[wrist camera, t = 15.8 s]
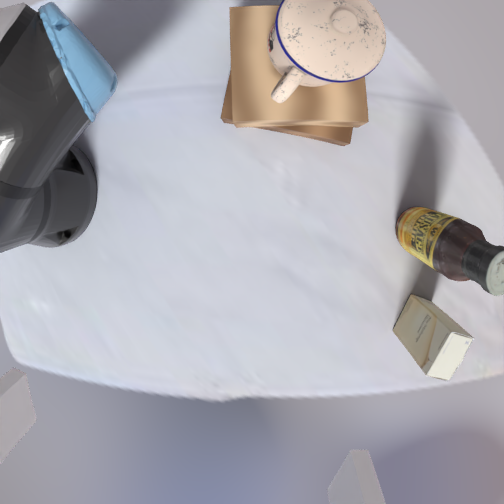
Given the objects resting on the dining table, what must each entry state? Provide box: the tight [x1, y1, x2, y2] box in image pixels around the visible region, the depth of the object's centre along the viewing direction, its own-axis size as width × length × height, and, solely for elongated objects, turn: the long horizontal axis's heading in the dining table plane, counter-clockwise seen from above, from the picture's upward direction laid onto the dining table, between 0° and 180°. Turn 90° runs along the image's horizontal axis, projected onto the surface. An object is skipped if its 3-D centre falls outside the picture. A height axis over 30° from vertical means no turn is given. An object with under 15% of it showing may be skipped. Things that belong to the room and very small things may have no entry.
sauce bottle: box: [396, 207, 504, 296], centre depth 30 cm, size 7×6×20 cm
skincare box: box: [393, 294, 474, 381], centre depth 36 cm, size 6×4×12 cm
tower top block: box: [230, 5, 368, 128], centre depth 31 cm, size 14×14×4 cm
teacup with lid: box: [267, 0, 386, 103], centre depth 23 cm, size 12×9×12 cm
